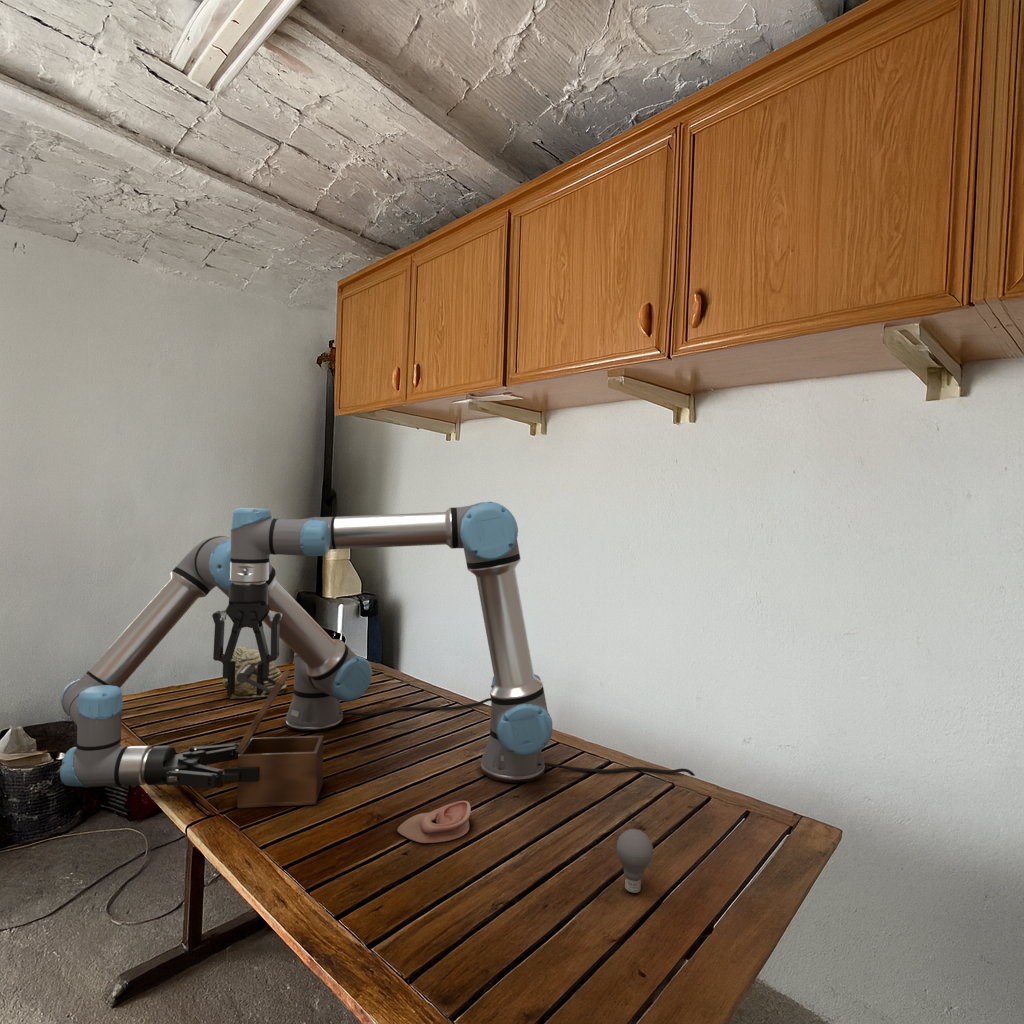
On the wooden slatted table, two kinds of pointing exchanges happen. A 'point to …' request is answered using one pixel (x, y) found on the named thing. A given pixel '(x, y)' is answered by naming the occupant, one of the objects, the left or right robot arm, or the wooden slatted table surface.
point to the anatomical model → (438, 824)
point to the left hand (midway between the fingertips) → (264, 763)
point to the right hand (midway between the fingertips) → (245, 693)
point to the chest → (282, 771)
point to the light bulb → (634, 857)
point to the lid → (244, 677)
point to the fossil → (246, 689)
